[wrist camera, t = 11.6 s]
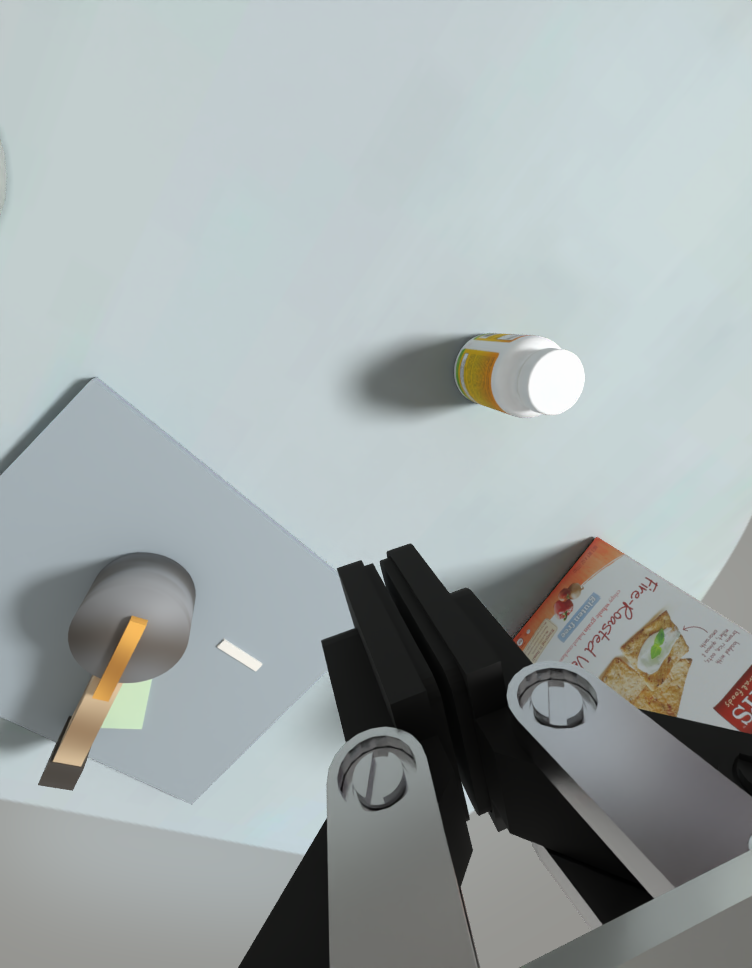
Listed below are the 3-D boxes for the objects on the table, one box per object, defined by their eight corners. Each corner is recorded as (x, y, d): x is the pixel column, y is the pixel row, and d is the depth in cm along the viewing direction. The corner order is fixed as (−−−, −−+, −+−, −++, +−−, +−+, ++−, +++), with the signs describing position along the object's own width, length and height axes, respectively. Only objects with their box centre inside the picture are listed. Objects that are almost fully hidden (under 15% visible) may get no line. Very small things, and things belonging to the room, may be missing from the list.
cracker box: (591, 532, 46) (839, 682, 27) (628, 561, 49) (879, 717, 30) (501, 645, 48) (675, 862, 29) (540, 667, 50) (725, 882, 31)
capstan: (114, 538, 34) (91, 577, 29) (211, 572, 36) (206, 613, 31) (26, 725, 36) (-10, 792, 31) (122, 744, 39) (104, 809, 34)
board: (-146, 633, 33) (-161, 645, 31) (96, 376, 32) (90, 379, 30) (192, 792, 44) (191, 806, 43) (380, 606, 43) (384, 615, 42)
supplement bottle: (478, 416, 40) (547, 444, 31) (438, 367, 37) (500, 382, 29) (526, 369, 39) (610, 384, 30) (489, 317, 37) (567, 316, 28)
